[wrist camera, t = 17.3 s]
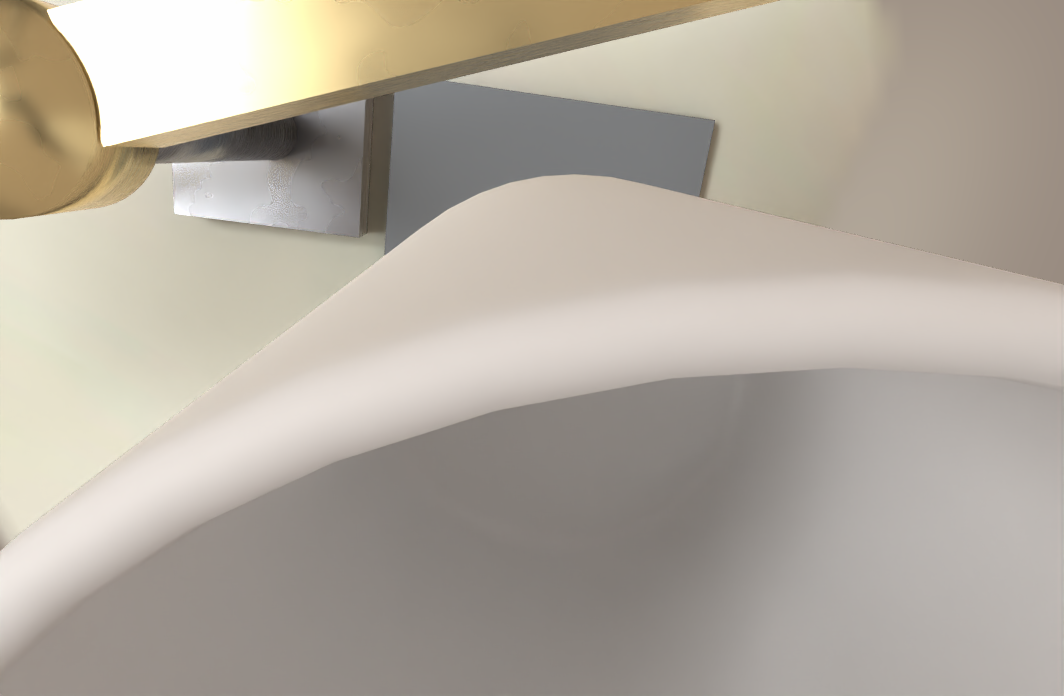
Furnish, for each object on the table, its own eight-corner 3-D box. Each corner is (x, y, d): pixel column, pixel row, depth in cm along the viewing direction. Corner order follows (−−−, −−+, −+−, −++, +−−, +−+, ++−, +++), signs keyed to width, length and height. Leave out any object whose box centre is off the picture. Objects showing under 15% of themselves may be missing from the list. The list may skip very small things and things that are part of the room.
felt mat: (398, 75, 27) (395, 73, 26) (710, 121, 28) (714, 120, 27) (374, 446, 32) (372, 452, 32) (637, 475, 33) (639, 480, 32)
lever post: (185, 18, 26) (-139, -114, 13) (376, 46, 26) (244, -53, 14) (191, 210, 28) (-79, 258, 16) (366, 233, 29) (246, 297, 16)
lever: (947, -226, 13) (1088, -351, 10) (950, 6, 14) (1074, -35, 11) (-707, 190, 14) (-1049, 200, 11) (-565, 364, 16) (-836, 417, 13)
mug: (808, 635, 15) (1384, 1588, 5) (476, 709, 15) (401, 1715, 5) (730, 119, 11) (2207, -120, 1) (300, 236, 12) (-840, 666, 2)
